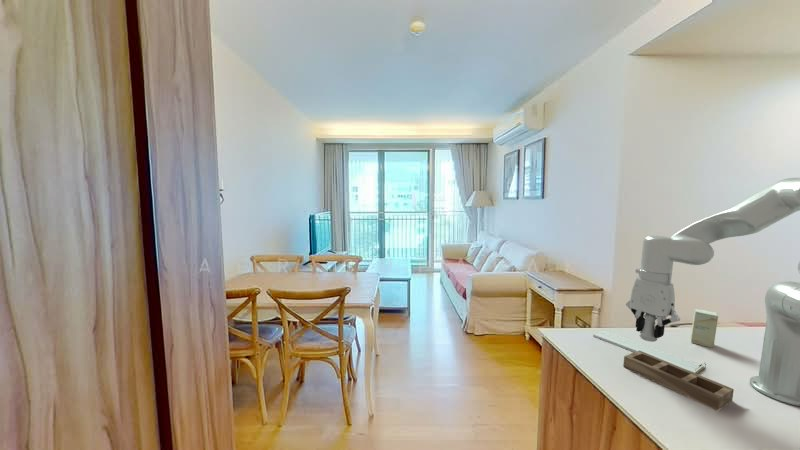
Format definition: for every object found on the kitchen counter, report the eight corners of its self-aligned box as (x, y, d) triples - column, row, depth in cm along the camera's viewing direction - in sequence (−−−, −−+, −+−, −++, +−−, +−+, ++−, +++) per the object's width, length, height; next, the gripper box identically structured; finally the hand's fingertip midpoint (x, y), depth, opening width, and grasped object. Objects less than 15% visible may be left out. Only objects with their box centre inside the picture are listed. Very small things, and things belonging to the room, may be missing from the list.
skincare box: (691, 342, 119) (694, 311, 117) (690, 338, 122) (693, 308, 121) (714, 348, 115) (718, 315, 113) (713, 343, 118) (717, 312, 117)
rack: (638, 360, 106) (639, 350, 106) (732, 401, 86) (733, 389, 85) (623, 366, 102) (624, 356, 102) (717, 410, 82) (719, 398, 82)
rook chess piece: (643, 341, 98) (646, 316, 97) (636, 334, 102) (638, 310, 101) (660, 343, 97) (663, 317, 96) (652, 336, 101) (655, 312, 100)
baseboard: (606, 332, 129) (593, 338, 123) (606, 325, 128) (593, 331, 123) (706, 367, 103) (694, 377, 98) (707, 359, 103) (695, 368, 98)
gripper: (618, 271, 103) (613, 325, 105) (682, 285, 88) (675, 348, 90) (632, 268, 106) (626, 321, 108) (696, 282, 91) (688, 343, 93)
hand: (648, 333), depth 99 cm, fingers closed on rook chess piece, 4 cm apart
